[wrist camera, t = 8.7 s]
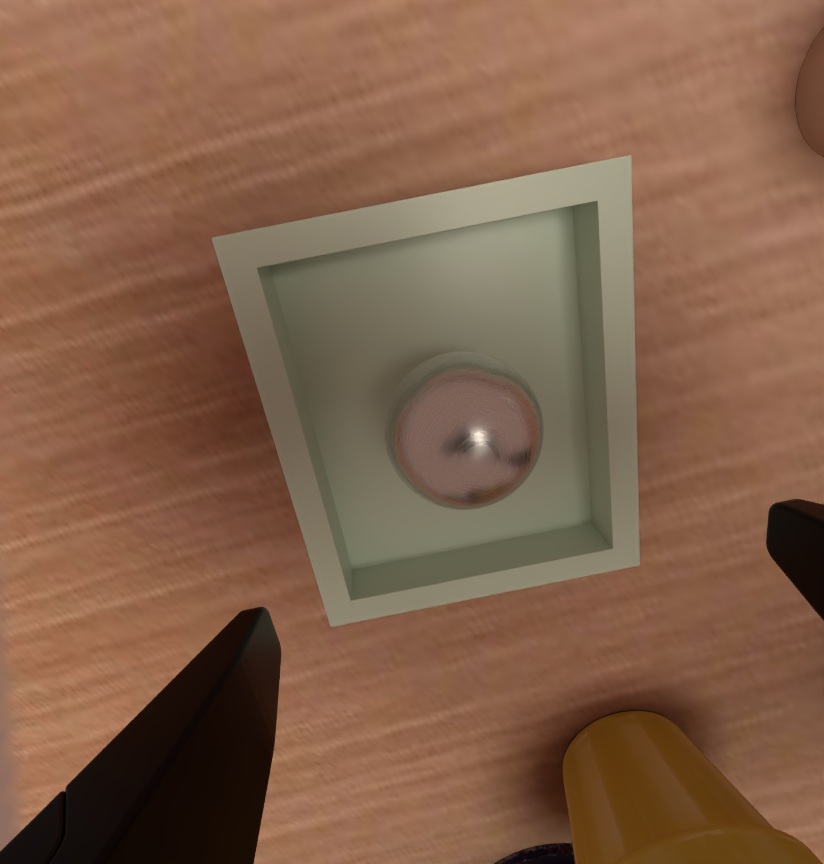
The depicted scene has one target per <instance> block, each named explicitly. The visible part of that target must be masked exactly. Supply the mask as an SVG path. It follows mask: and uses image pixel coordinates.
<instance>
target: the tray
mask: <svg viewBox="0 0 824 864" xmlns="http://www.w3.org/2000/svg"><path fill="white" fill-rule="evenodd" d="M211 239H212V242H213V245H214V249H215V252H216V255H217V258H218V262H219V265H220V268H221V271H222V275H223V278H224V281H225V284H226V288H227V291H228V294H229V297H230V301H231V304H232V307H233V311H234V314H235V317H236V320H237V324H238V327H239V330H240V333H241V337H242V340H243V343H244V346H245V350H246V353H247V356H248V359H249V363H250V366H251V369H252V372H253V376H254V379H255V382H256V385H257V389H258V392H259V395H260V398H261V402H262V405H263V408H264V411H265V415H266V418H267V421H268V425H269V428H270V431H271V434H272V438H273V441H274V444H275V447H276V451H277V454H278V457H279V460H280V464H281V467H282V470H283V473H284V477H285V480H286V483H287V486H288V490H289V493H290V496H291V499H292V503H293V506H294V509H295V512H296V516H297V519H298V522H299V525H300V529H301V532H302V535H303V538H304V542H305V545H306V548H307V552H308V555H309V558H310V561H311V565H312V568H313V571H314V574H315V578H316V581H317V584H318V587H319V591H320V594H321V597H322V600H323V604H324V607H325V610H326V613H327V617H328V620H329V623H330V626H331V627H333V626H338V625H343V624H348V623H354V622H359V621H364V620H369V619H374V618H379V617H384V616H389V615H394V614H399V613H404V612H409V611H414V610H419V609H424V608H429V607H434V606H439V605H444V604H449V603H454V602H459V601H464V600H469V599H474V598H479V597H484V596H489V595H494V594H499V593H504V592H509V591H514V590H519V589H525V588H530V587H535V586H540V585H545V584H550V583H555V582H560V581H565V580H570V579H575V578H580V577H585V576H590V575H595V574H600V573H605V572H610V571H615V570H620V569H625V568H630V567H635V566H640V545H639V499H638V452H637V406H636V360H635V314H634V268H633V222H632V176H631V155H629V156H623V157H618V158H613V159H608V160H603V161H598V162H593V163H588V164H583V165H578V166H573V167H568V168H563V169H557V170H552V171H547V172H542V173H537V174H532V175H527V176H522V177H517V178H512V179H507V180H502V181H496V182H491V183H486V184H481V185H476V186H471V187H466V188H461V189H456V190H451V191H446V192H441V193H436V194H430V195H425V196H420V197H415V198H410V199H405V200H400V201H395V202H390V203H385V204H380V205H375V206H369V207H364V208H359V209H354V210H349V211H344V212H339V213H334V214H329V215H324V216H319V217H314V218H309V219H303V220H298V221H293V222H288V223H283V224H278V225H273V226H268V227H263V228H258V229H253V230H248V231H242V232H237V233H232V234H227V235H222V236H217V237H212V238H211ZM457 351H471V352H479V353H483V354H487V355H490V356H493V357H495V358H497V359H499V360H501V361H503V362H505V363H506V364H508V365H510V366H511V367H512V368H514V369H515V370H516V371H517V372H519V374H520V375H521V376H522V377H523V378H524V379H525V380H526V381H527V382H528V384H529V385H530V387H531V388H532V390H533V391H534V394H535V396H536V398H537V400H538V402H539V405H540V409H541V412H542V417H543V428H544V436H543V445H542V449H541V453H540V456H539V458H538V461H537V463H536V466H535V467H534V469H533V471H532V473H531V474H530V476H529V477H528V479H527V480H526V481H525V482H524V483H523V484H522V486H521V487H520V488H518V489H517V490H516V491H515V492H514V493H513V494H511V495H510V496H508V497H507V498H505V499H503V500H501V501H500V502H498V503H495V504H493V505H490V506H487V507H483V508H479V509H472V510H456V509H450V508H445V507H441V506H438V505H435V504H432V503H430V502H428V501H426V500H424V499H423V498H421V497H420V496H418V495H417V494H415V493H414V492H413V491H412V490H411V489H409V488H408V487H407V486H406V485H405V483H404V482H403V481H402V480H401V479H400V477H399V476H398V474H397V473H396V471H395V470H394V468H393V466H392V464H391V462H390V459H389V456H388V453H387V449H386V445H385V439H384V424H385V416H386V411H387V408H388V404H389V402H390V400H391V397H392V395H393V393H394V392H395V390H396V388H397V387H398V385H399V384H400V383H401V381H402V380H403V379H404V378H405V376H407V375H408V374H409V373H410V372H411V371H412V370H413V369H414V368H416V367H417V366H418V365H420V364H421V363H423V362H425V361H426V360H428V359H430V358H433V357H435V356H438V355H441V354H445V353H450V352H457Z"/></svg>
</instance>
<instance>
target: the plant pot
mask: <svg viewBox="0 0 824 864" xmlns="http://www.w3.org/2000/svg"><path fill="white" fill-rule="evenodd" d="M562 771H563V781H564V788H565V794H566V800H567V807H568V814H569V821H570V829H571V836H572V844H573V851H574V858H575V864H822V863H821V862H820V860H819V859H818V858H817V857H816V856H815V854H814V853H813V852H812V851H811V850H810V849H809V848H808V847H807V846H806V845H805V844H803V843H802V842H801V841H799V840H798V839H796V838H794V837H793V836H791V835H789V834H787V833H785V832H782V831H780V830H777V829H774V828H773V827H772V826H771V825H770V824H769V823H768V822H767V821H766V820H765V818H764V817H763V816H762V815H761V814H760V813H759V812H758V811H757V810H756V809H755V808H754V807H753V806H752V805H751V804H750V803H749V802H748V801H747V800H746V798H745V797H744V796H743V795H742V794H741V793H740V792H739V791H738V790H737V789H736V788H735V787H734V786H733V785H732V784H731V783H730V782H729V781H728V780H727V779H726V777H725V776H724V775H723V774H722V773H721V772H720V771H719V770H718V769H717V768H716V767H715V766H714V765H713V764H712V763H711V762H710V760H709V759H708V758H707V757H706V756H705V755H704V754H703V753H702V752H701V751H700V750H699V749H698V748H697V747H696V746H695V744H694V743H693V742H692V741H691V740H690V739H689V738H688V737H687V736H686V735H685V734H684V733H683V732H682V730H681V729H680V728H679V727H678V726H677V725H676V724H674V723H673V722H672V721H670V720H669V719H667V718H666V717H663V716H661V715H659V714H656V713H652V712H646V711H626V712H620V713H615V714H612V715H609V716H605V717H603V718H601V719H598V720H596V721H595V722H593V723H591V724H590V725H588V726H587V727H586V728H584V729H583V730H582V731H581V732H580V733H578V735H577V736H576V737H575V738H574V739H573V740H572V742H571V743H570V745H569V746H568V749H567V751H566V753H565V756H564V760H563V767H562Z"/></svg>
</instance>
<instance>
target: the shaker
mask: <svg viewBox="0 0 824 864" xmlns="http://www.w3.org/2000/svg"><path fill="white" fill-rule="evenodd" d="M796 116H797V120H798V125H799V127H800V130H801V133H802V135H803V137H804V138H805V140H806V142H807V143H808V144H809V145H810V147H811V148H812V149H813V150H815V151H816V152H817V153H818V154H820V155H822V156H823V157H824V28H823V29H822V30H821V32H820V33H819V35H818V36H817V37H816V39H815V40H814V42H813V44H812V46H811V47H810V49H809V51H808V53H807V55H806V58H805V60H804V62H803V65H802V68H801V71H800V74H799V78H798V83H797V89H796Z"/></svg>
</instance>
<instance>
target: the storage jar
mask: <svg viewBox="0 0 824 864" xmlns="http://www.w3.org/2000/svg"><path fill="white" fill-rule="evenodd" d="M495 864H575V858H574V851H573V844H565V843H562V844H548V845H542V846H536V847H532V848H528V849H525V850H522V851H519V852H517V853H514V854H512V855H509V856H507V857H505V858H503V859H501V860H500V861H498V862H497V863H495Z"/></svg>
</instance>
